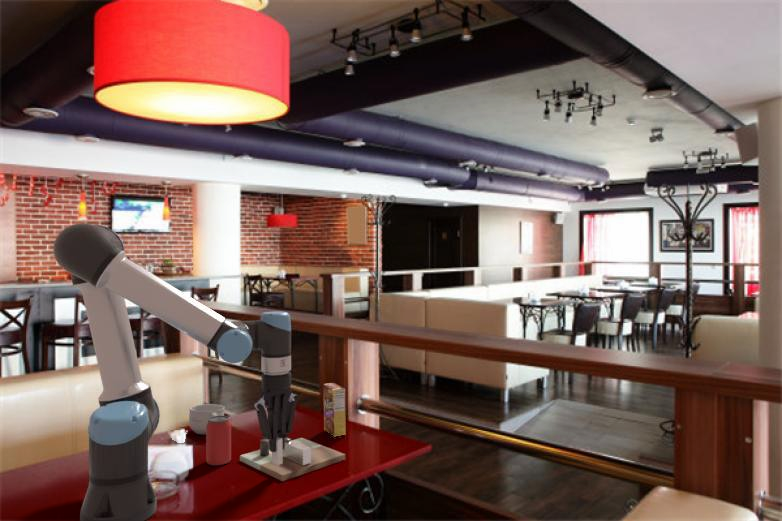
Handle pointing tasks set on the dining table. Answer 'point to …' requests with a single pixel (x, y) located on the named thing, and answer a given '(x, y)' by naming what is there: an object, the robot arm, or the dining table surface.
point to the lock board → (289, 468)
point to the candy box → (334, 409)
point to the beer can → (218, 440)
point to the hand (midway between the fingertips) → (277, 463)
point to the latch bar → (297, 452)
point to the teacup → (203, 416)
